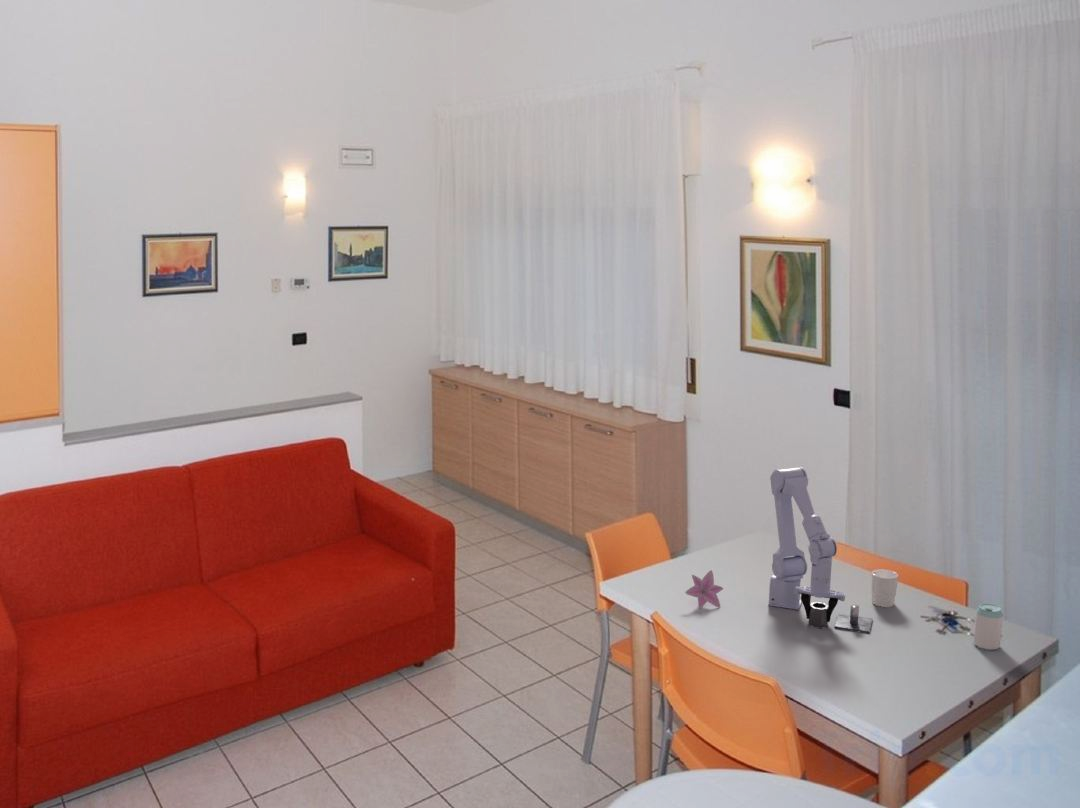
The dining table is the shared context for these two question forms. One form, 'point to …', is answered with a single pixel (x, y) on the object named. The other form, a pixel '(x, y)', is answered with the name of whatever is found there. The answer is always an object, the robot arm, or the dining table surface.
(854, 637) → the dining table surface
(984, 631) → the can
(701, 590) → the lily
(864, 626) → the post
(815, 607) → the tube
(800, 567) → the robot arm
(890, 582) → the white cup
